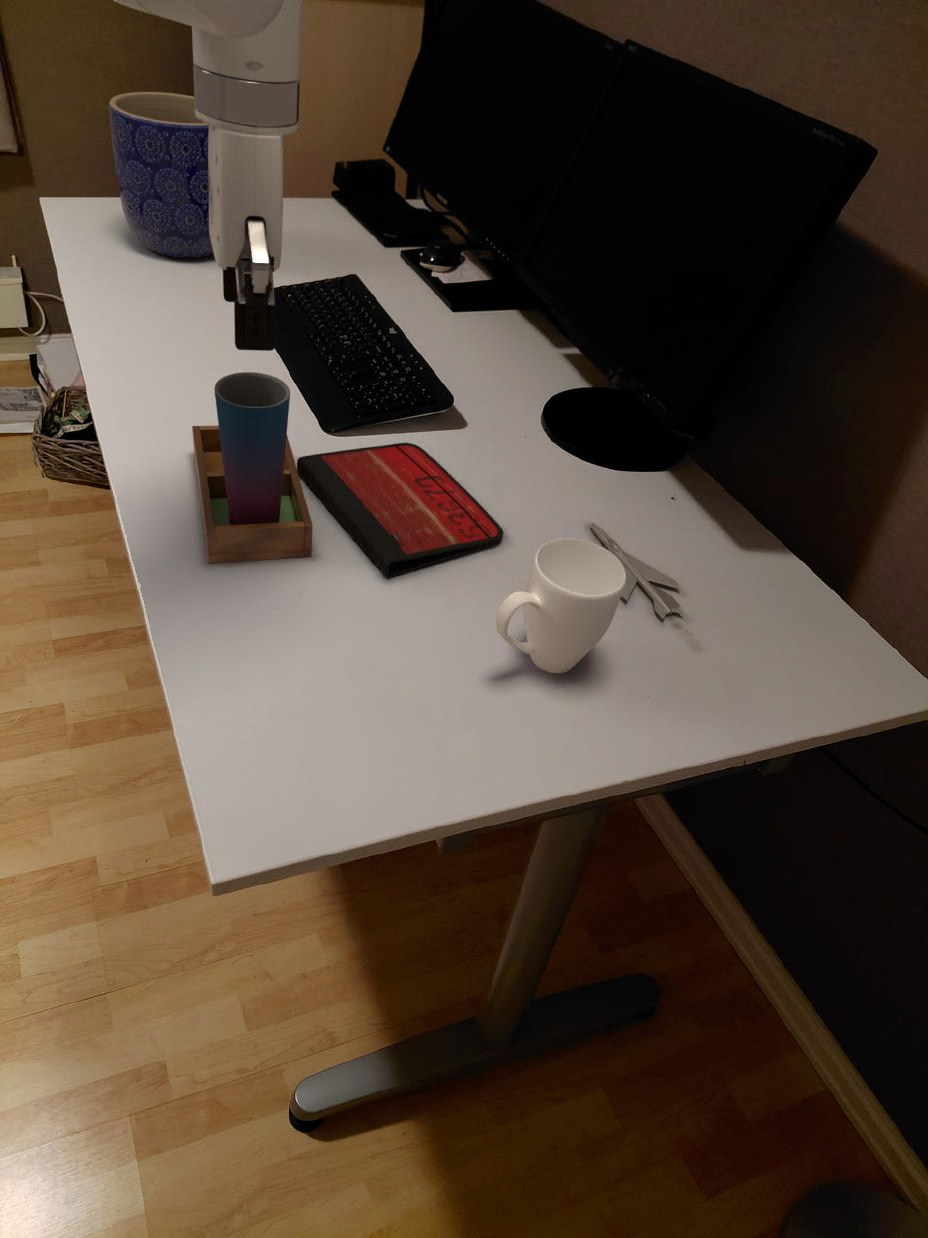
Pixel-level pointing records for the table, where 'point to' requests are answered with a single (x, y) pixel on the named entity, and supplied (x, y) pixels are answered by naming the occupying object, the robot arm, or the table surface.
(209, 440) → the wooden compartment tray
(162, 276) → the table surface
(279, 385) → the cup
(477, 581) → the table surface
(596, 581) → the mug
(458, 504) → the binder
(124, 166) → the planter
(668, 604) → the toy airplane
